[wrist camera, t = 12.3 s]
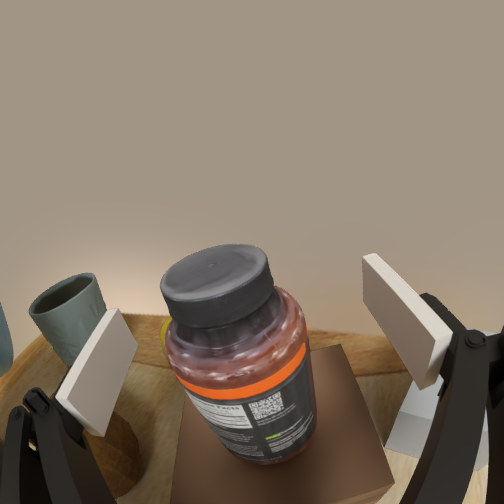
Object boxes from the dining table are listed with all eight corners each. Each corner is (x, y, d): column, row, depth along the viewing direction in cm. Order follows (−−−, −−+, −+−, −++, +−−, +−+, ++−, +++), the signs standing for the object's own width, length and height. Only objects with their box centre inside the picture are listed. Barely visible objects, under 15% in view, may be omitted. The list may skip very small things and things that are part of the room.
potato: (135, 405, 24) (92, 346, 20) (175, 492, 14) (112, 447, 11) (77, 429, 20) (28, 376, 17) (98, 517, 10) (23, 474, 7)
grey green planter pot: (68, 395, 25) (16, 321, 21) (85, 349, 35) (48, 283, 30) (130, 386, 26) (77, 303, 22) (138, 336, 36) (103, 264, 31)
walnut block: (206, 526, 11) (168, 511, 9) (213, 411, 22) (189, 372, 20) (377, 502, 10) (394, 482, 8) (340, 388, 21) (340, 343, 19)
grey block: (384, 447, 15) (398, 410, 12) (421, 368, 20) (433, 321, 18) (478, 470, 8) (516, 435, 6) (498, 385, 14) (523, 338, 12)
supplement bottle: (261, 379, 18) (217, 228, 14) (336, 410, 14) (327, 237, 10) (202, 436, 14) (112, 286, 10) (277, 485, 10) (204, 342, 6)
